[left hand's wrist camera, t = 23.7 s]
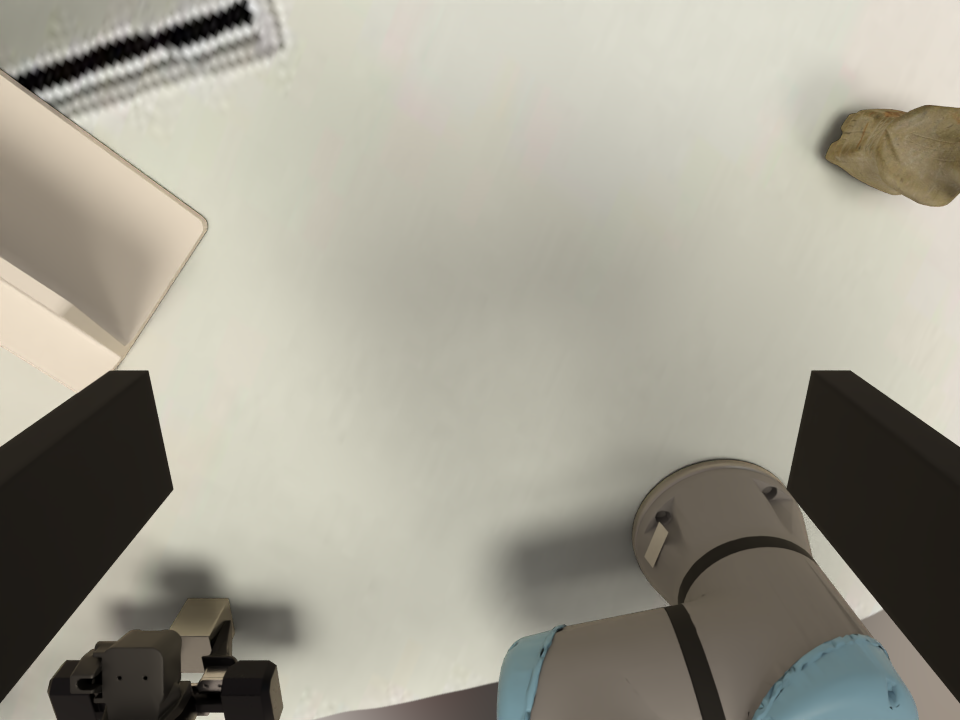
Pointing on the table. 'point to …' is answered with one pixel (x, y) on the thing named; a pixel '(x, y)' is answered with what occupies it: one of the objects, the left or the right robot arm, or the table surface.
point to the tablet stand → (79, 243)
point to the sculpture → (903, 152)
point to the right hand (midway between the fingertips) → (208, 623)
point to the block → (200, 629)
